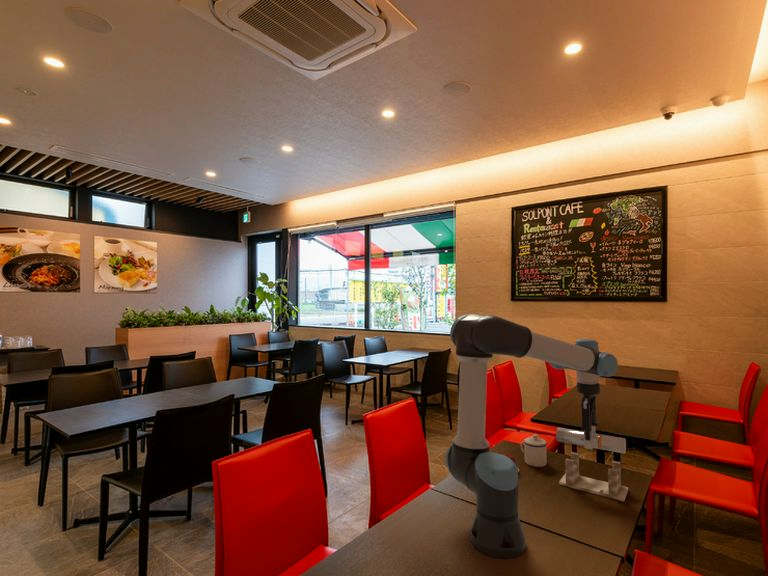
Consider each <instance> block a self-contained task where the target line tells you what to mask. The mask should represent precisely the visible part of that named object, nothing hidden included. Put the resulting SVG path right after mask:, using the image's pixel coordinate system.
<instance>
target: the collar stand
mask: <svg viewBox="0 0 768 576" xmlns="http://www.w3.org/2000/svg"><path fill="white" fill-rule="evenodd" d="M579 455H580V454H579V453H577V452H574V451H570V458H566V459H564V460H565V462H564V464H565V466H564V467H565V468H564V469H565V470H564V471H565V473H564V474H563V475H562V477H561V478H560V480H559V481H558V485H559V486H560V485H561V486H564V487H568V488H571V489H575V490H579V491H582V492H587V493H590V494H594V495H597V496H602V497H605V498H610V499H613V500H616V501H621V502H625V500H626V497H627V494H628V492H629V487H628V486H625V485H622V477H621V476H622V474H621V471H622V470H621V461H615V460H612V461H611V468H608V469H607V480H608V481H604V480H599V479H595V478H591V477H587V476H583V475H580V459H579Z"/></svg>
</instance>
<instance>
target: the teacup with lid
mask: <svg viewBox="0 0 768 576" xmlns="http://www.w3.org/2000/svg"><path fill="white" fill-rule="evenodd" d="M523 440H524V441H521V442H520V450H521V451H522V453H524V462H525V463H526V465H528V466H531V467H537V468H543V467H546V466H547V461H548V460H547V457H548V456H547V455H548V454H547V445H548V443H547V440H546V439H544V438H541V437H539V436H538V434H532V436H529V437H527V438H525V439H523Z"/></svg>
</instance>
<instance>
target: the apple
mask: <svg viewBox="0 0 768 576" xmlns="http://www.w3.org/2000/svg"><path fill="white" fill-rule="evenodd" d="M503 455H504V456H506V457H508V458H510V459H511V460H512V461H513V462H514V463H515V464H516V459H515V457H514V456H513V455H512V454H507V453H506V454H503ZM519 472H520V468H518V467H517V473H519Z"/></svg>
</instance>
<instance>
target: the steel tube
mask: <svg viewBox="0 0 768 576" xmlns="http://www.w3.org/2000/svg"><path fill="white" fill-rule="evenodd" d="M592 434H593V449H598V450H602V451H603V450H604V451H609V452H615V453H618V454H619V453H620V454H626V451H627V450H626V449H627V443H626V442H627V441H626V440H627V439H626V438H625V437H617V436H612V435H606V434H600V433H596V434H595V433H592ZM555 436H556V441H557V442H561V443H566V444H571V445H576V446H583V447H584V430H577V429H572V428H571V429H570V428H564V427H557V428H556V435H555Z"/></svg>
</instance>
